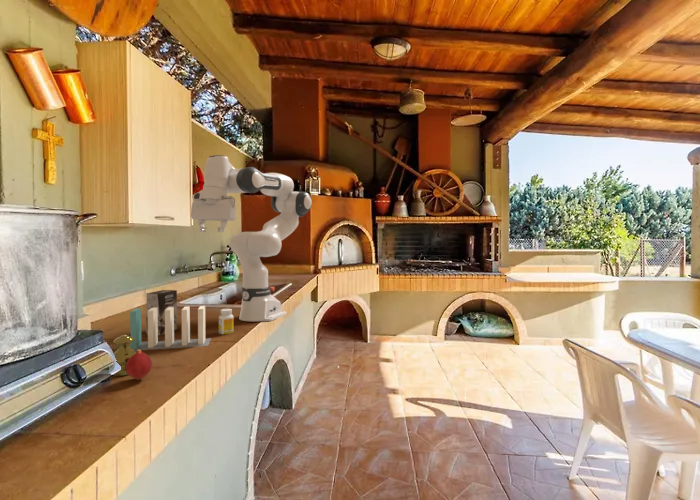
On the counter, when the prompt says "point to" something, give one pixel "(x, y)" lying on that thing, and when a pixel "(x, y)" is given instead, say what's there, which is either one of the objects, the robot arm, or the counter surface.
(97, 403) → the counter surface
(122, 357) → the olive waisted piece
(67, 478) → the counter surface
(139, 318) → the domino
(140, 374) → the onion
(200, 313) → the domino
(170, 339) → the domino
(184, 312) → the domino
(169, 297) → the coffee box
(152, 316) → the domino
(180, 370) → the counter surface
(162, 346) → the slate board
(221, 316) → the supplement bottle
